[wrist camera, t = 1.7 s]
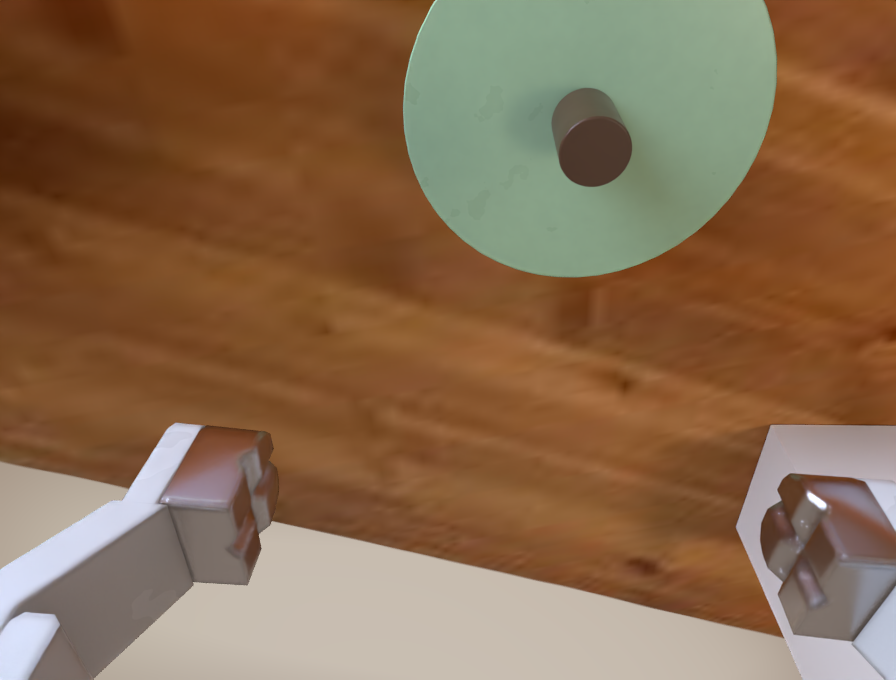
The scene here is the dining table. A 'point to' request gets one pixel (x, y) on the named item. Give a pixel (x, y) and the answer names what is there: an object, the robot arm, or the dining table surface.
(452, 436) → the dining table surface
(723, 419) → the dining table surface
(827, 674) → the milk
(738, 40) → the tin lid
